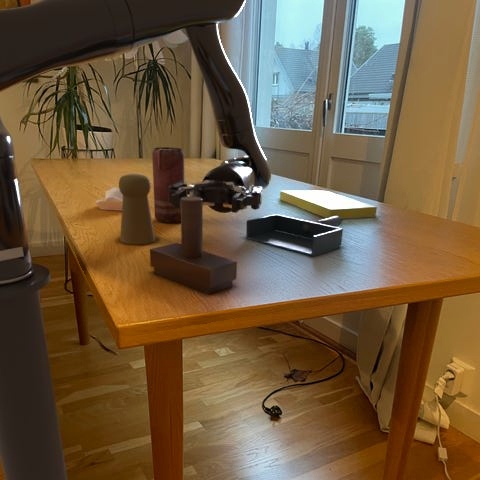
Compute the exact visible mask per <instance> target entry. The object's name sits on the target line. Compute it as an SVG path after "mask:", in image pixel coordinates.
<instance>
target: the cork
mask: <svg viewBox="0 0 480 480" xmlns="http://www.w3.org/2000/svg"><path fill="white" fill-rule="evenodd" d="M118 188H119V189H120V192H121V193H122V195H123V203H122V211H121V219H120V233H119V234H120V236H119V242H121V243H123V244H126V245H148V244H152V243H154V242H155V241H156V236H155V230H154V226H153V220H152V212H151V207H150V203H149V196H148V195H149V194H150V192H151V180H150V179H149V177H147V176H146V175H144V174H138V173H129V174H125V175H122V176H120V178H119V180H118Z"/></svg>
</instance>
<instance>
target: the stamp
mask: <svg viewBox="0 0 480 480" xmlns="http://www.w3.org/2000/svg"><path fill="white" fill-rule="evenodd" d="M203 207H204V205H203V199H202V198H200V197H190V196H187V197H182V198H181V222H180V239H181V240H180V241H181V243H179V242H175V243H170V244H166V245H161V246H158V247H157V246H156V247H153V248H149V259H150V260H149V262H150V267H152V268H153V273H154V274H156V275H158V276H161V277H163V278H166V279H169V280H171V281H174V282H176V283H179V284H182V285H184V286H186V287H190V288H192V289H194V290H196V291H200V292H201V293H205V294H207V295H211V294H215V293H217V292H220V291H223V290H226V289H229V288H232V287H233V284H234V281H236V280H237V277H238V273H237V272H238V261H236V260H234V259H230V258H227V257H223V256H221V255H217V254H214V253H211V252H207V251H205V250H203V249H204V248H203V241H204V239H203V235H204V233H203V232H204V231H203V229H204V228H203V221H204V220H203V219H204V218H203V211H204V210H203Z"/></svg>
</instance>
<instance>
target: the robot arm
mask: <svg viewBox="0 0 480 480" xmlns="http://www.w3.org/2000/svg"><path fill="white" fill-rule="evenodd" d="M245 3H246V0H38V1H37V2H34V3H31V4H27V5H24V6H18V7H12V8H3V9H0V93H3V92H4V91H6V90H8V89H10V88H12V87H15V86H17V85H18V84H21V83H23V82H25V81H27V80H30V79H32V78H34V77H37V76H40V75H41V74H44V73H47V72H50V71H53V70H57V69H61V68H66V67H67V68H68V67H75V66H81V65H87V64H92V63H96V62H101V61H104V60H107V59H108V60H109V59H112V58H115V57H117V56H121V55H124V54H127V53H130V52H132V51H135V50H137V49H140V48H143V47H145V46H148V45H150V44H152V43H155V42H157V41H160V40H162V39H164V38H166V37H168V36H171V35H173V34H175V33H177V32H179V31H181V30H184V31H185V34H186V37H187V39H188V42H189V44H190V47H191V50H192V52H193V55H194V57H195V60H196V63H197V66H198V69H199V71H200V74H201V77H202V79H203V82H204V85H205V88H206V90H207V94H208V97H209V102H210V105H211V109H212V114H213V118H214V122H215V127H216V132H217V136H218V139H219V143H220V145H221V146H222V148H224V149H227V150H239V151H242V152H243V153H244V154H246V155H243V156H240V157H239V156H238V157H234V158H232V157H231V158H228V159H225V160H223V161H222V162H220V164H219V165H218V166H216V167H214V168H212V169H210V170H209V171H208V172H207V173H206V174H205V176H203V178H202V181H199V182H198V181H197V182H190V183H189V185H188V182H186V180H185V181H182V182H179V183H176V184H174V185H171V186H169V187H168V189H169V203H171V204H172V205H174V207H175V208H181V198H182V197H188V195H189V197H200V198H202V199H203V206H208V207H209V208H210V209H211V210H213V211H214V212H217V213H220V214H227V213H233V214H234V213H235V214H237V213H239V211H242V210H244V211H245V210H247V209H248V207H250V208H251V210H255V211H256V210H259V209H260V207H261V205H262V200H263V190H266V188H268V186H269V185H270V183H271V179H272V170H271V167H270V165H269V162H268V160H267V157H266V156H265V154H264V151H263V150H262V148H261V145H260V143H259V141H258V138H257V135H256V132H255V128H254V123H253V118H252V112H251V107H250V102H249V98H248V95H247V93H246V89H245V88H244V86H243V84H242V82H241V80H240V79H239V77H238V75H237V73H236V72H235V70H234V68H233V67H232V64H231V62H230V60H229V59H228V57H227V55H226V53H225V50H224V48H223V45H222V43H221V39H220V34H219V28H218V25H219V24H224V23H227V22H230V21H232V20H233V19H234V18H236V17H237V16H238V15H239V14H240V12H241V11H242V10H243V7H244V6H245ZM14 148H15V147H14V143H13V138H12V135H11V134H10V132H9V131H8V129H7V128H6V126H5V125H4V122H3V120H2V117H1V116H0V286H5V285H11V284H15V283H19V282H22V281H24V280H27V279H29V278H30V277H31V276H32V275H33V267H32V264H31V263H33V262H32V258H31V253H30V244H29V238H28V232H27V226H26V220H25V213H24V206H23V201H22V193H21V188H20V180H19V175H18V174H19V173H18V167H17V162H16V155H15V149H14Z"/></svg>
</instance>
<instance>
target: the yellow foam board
mask: <svg viewBox="0 0 480 480" xmlns="http://www.w3.org/2000/svg"><path fill="white" fill-rule="evenodd" d="M279 200H281V201H283V202H285V203H288V204H290V205H293V206H295V207H298V208H300V209H303V210H305V211H308V212H310V213H312V214H315V215H318V216H319V217H322V218H324V219H327V218H331V217H335V216H339V217H340V218H341V220H344V219H360V218H363V219H364V218H376V215H377V209H378V206H376V205H372V204H369V203H367V202H362V201H359V200H356V199H353V198H350V197H347V196H344V195H341V194H338V193H334V192H331V191H328V190H280V192H279Z"/></svg>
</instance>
